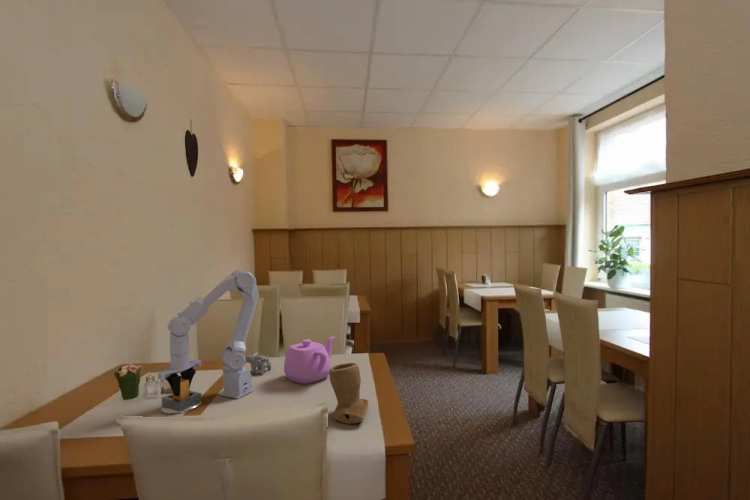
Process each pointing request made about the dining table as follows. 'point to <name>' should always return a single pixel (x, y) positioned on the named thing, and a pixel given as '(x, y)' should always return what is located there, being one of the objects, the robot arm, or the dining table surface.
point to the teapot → (308, 361)
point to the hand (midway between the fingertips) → (181, 393)
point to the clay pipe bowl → (348, 393)
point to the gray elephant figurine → (258, 362)
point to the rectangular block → (183, 390)
